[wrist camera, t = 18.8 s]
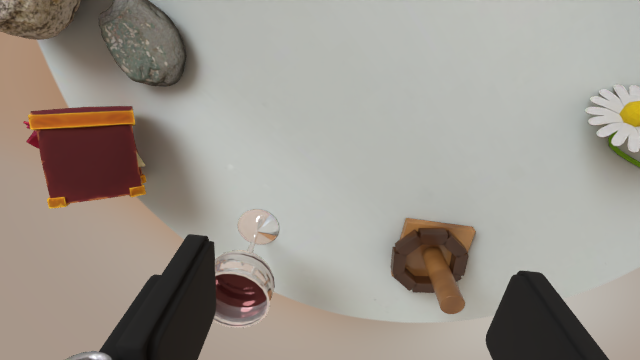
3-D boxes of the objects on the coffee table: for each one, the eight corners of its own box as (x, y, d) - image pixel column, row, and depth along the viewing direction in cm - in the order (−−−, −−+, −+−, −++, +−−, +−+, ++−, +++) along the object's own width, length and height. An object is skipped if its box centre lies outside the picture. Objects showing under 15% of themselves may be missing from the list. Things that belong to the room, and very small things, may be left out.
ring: (468, 228, 41) (473, 235, 39) (456, 285, 44) (460, 293, 43) (394, 227, 41) (396, 234, 40) (388, 283, 44) (390, 291, 43)
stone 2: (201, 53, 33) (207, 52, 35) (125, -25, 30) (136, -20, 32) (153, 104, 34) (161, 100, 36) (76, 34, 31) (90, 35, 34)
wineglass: (254, 191, 41) (226, 257, 30) (298, 227, 43) (286, 301, 32) (218, 227, 43) (180, 300, 32) (261, 259, 45) (238, 339, 34)
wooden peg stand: (472, 226, 42) (506, 279, 34) (452, 279, 45) (479, 338, 37) (405, 217, 41) (423, 268, 33) (390, 271, 45) (403, 329, 37)
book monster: (151, 205, 34) (145, 165, 44) (136, 111, 31) (133, 91, 41) (13, 226, 30) (40, 177, 40) (-22, 120, 27) (17, 95, 36)
